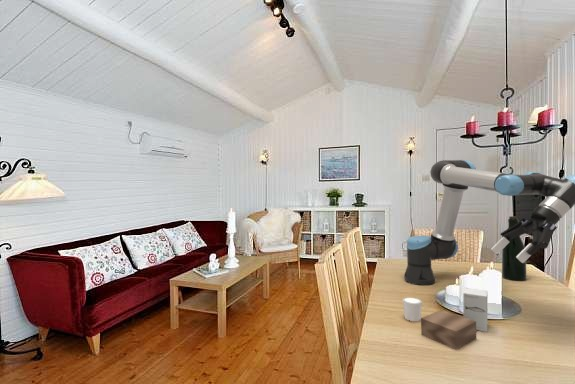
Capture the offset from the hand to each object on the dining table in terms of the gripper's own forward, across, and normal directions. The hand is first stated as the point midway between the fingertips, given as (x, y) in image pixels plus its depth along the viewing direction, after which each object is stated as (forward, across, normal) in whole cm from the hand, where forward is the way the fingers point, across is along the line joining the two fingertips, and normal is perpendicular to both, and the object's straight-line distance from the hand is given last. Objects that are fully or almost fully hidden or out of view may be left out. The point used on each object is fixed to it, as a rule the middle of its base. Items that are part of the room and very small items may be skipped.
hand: (505, 255), depth 110 cm
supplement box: (+26, 0, -10) cm, 28 cm away
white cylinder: (+40, +7, +4) cm, 40 cm away
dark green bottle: (-10, +56, -46) cm, 73 cm away
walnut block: (+35, -7, -1) cm, 36 cm away
